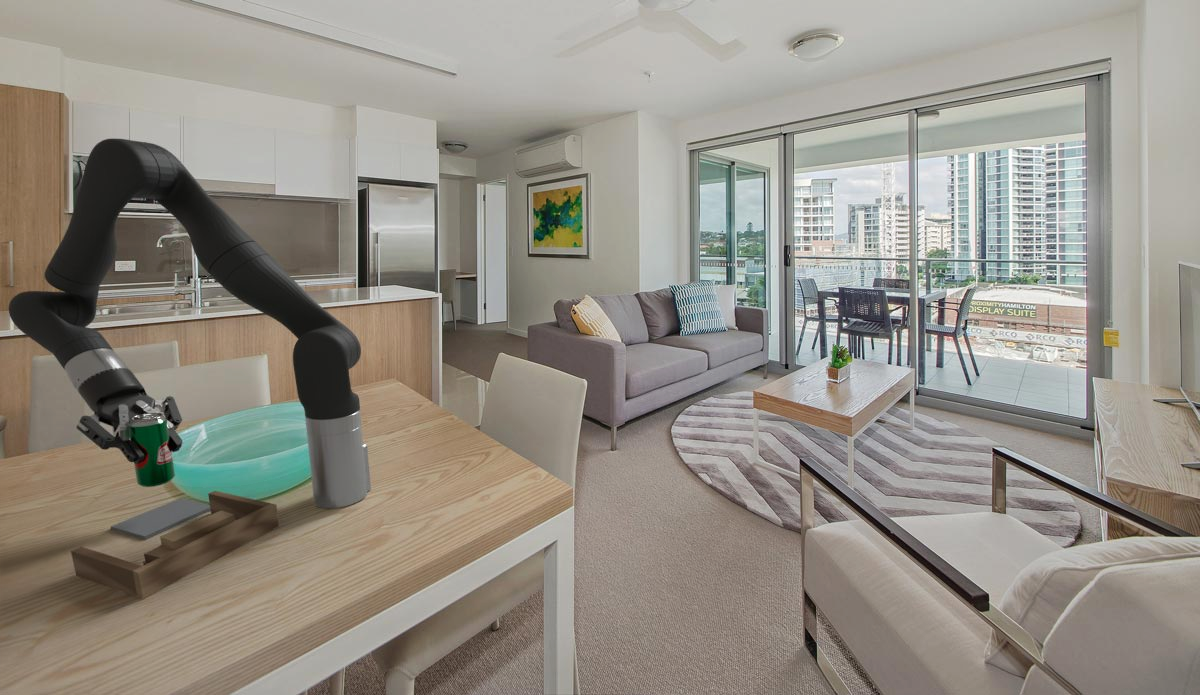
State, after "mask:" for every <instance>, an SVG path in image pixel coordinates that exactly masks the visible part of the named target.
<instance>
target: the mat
mask: <svg viewBox="0 0 1200 695" xmlns="http://www.w3.org/2000/svg"><path fill="white" fill-rule="evenodd" d="M207 512H208V513H209V512H211V509H210V504H208V503H204V502H199V501H195V500H190V499H186V498H182V497H180V498H177V499H174V500H172V501H170V502H168V503H165V504H163V505H161V506H157V507H155V508H153V509H150V510H148V511H145V512H143V513H140V514H138V515H135V516H133V517H130V518H129V519H126V520H123V521H121V522H120V521H119V522H118V523H116V524H113V525H111V526H110V530H111V531H114V532H118V533H121V534H123V535H124V534H125V535H128V536H131V537H134V538H135V537H136V538H138V539H142V540H148V539H150V538H152V537H154V536H157V535H159V534H161V533H164V532H165V531H167V530H171V529H173V528H174V527H176V526H179V525H181V524H184V523H186V522H188V521H190V520H193V519H194V518H196V517H199V516H201V515H204V514H205V513H207Z"/></svg>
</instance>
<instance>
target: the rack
mask: <svg viewBox="0 0 1200 695" xmlns="http://www.w3.org/2000/svg"><path fill="white" fill-rule="evenodd" d="M207 495H208V503H209V505H210V509H211V510H210V515H212V514H214V513H216V512H219V511H221V510H222V511H225V512H228V513H231V514H234V516H235V521H234V522H232V523H230V524H228V525H226V526H224V527H222V528H220V529H218V530H216V531H214V532H212V533H210V534H208V535H205V536H203V537H201V538H199V539H197V540H195V541H193V542H191V543H189V544H187V545H185V546H183V547H181V548H179V549H177V550H175V551H173V552H171V553H169V554H167V555H164V556H162V557H160V558H158V559H156V560H154V561H152V562H150V563H148V564H146V565H144V566H143V565H141V564H138V563H135V562H131V561H128V560H125V559H122V558H118V557H115V556H112V555H109V554H107V553H103V552H100V551H96V550H93V549H90V548H88V547H84V546H80V547H77V548H75V549H72V550H70V553H71V558H72V563H73V569H74V573H75V576H76V577H79V578H81V579H85V580H88V581H89V582H94V583H95V584H97V585H98V584H99V585H102V586H104V587H107V588H109V589H113V590H115V591H118V592H121V593H124V594H128V595H131V596H134V597H137V598H139V599H142V600H144V599H146V598H148V597H150V596H152V595H153V594H156V593H157V592H159V591H162V590H163V589H164V588H166V587H168V586H170V585H172V584H174V583H176V582H178V581H179V580H182V579H183V578H185V577H187V576H189V575H190V574H192V573H194V572H196V571H198V570H200V569H201V568H203V567H205V566H207V565H209V564H211V563H213V562H215V561H216V560H218V559H220V558H222V557H224V556H225V555H228V554H229V553H231V552H234V551H235V550H237V549H239V548H241V547H243V546H244V545H246V544H249V543H250V542H252V541H253V540H255V539H257V538H259V537H261V536H263V535H264V534H267V533H268V532H270V531H272V530H275V529H276V528H278V527H279V526H280V524H279V517H278V507H277V506H278V505H277V504H275V503H271V502H267V501H262V500H257V499H253V498H249V497H245V496H241V495H235V494H231V493H227V492H222V491H217V490H214V491H211V492H209V493H207Z"/></svg>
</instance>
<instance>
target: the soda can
mask: <svg viewBox="0 0 1200 695" xmlns="http://www.w3.org/2000/svg"><path fill="white" fill-rule="evenodd" d="M128 429H129V434H130V439H129V440H133V441H134V442H135V443H136V445H137V446H138V447H139V449H140V450H141V451H142V453H143V454H144V456H145V458H144V460H143V461H142V463H139V464H135V463H134V462H133V466H134V470H135V478H136V484H137V485H139V486H141V487H143V488H151V487H153V488H154V487H158V486H161V485H165V484H167V483H170V482H171V481H172V480H173V479H174V478H175V476H176V473H175V467H174V458H173V452H172V451H171V444H170V437H169V431H168V424H167V419H166V418H165V415H164V413H163V412H159V413H147V414H142V415H138V416H134V417H132V418H131V419H130V423H129V425H128Z"/></svg>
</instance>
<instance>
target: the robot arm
mask: <svg viewBox="0 0 1200 695" xmlns="http://www.w3.org/2000/svg"><path fill="white" fill-rule="evenodd" d="M83 170H84V171H83V172H82V173H83V174H82V178H81V182H80V185H79V189H78V192H77V194H76V195H77V196H76V199H75V203H74V207H73V210H72V214H71V218H70V221H69V223H68V227H67V228H66V229H67V230H65V233H64V236H63V237H62V239H61V241H60V243H59V244H58V247H57V249H56V250H55V252H54V254H53V255H52V257H51V259H50V261H49V262H48V264H47V266H46V268H45V271H44V279H45V281H46V282H47V284H49V285H50V286H52V287H53V288H55V289H57V290H60V291H43V290H42V291H41V290H39V291H38V290H29V291H27V290H26V291H23V292H22V291H21V292H19V293H17V294H15V295H14V296H13V297H12V298H11V300H10V301H9V304H8V314H9V317H10V319H11V322H13V324H14V325H15V326H16V327H17V328H18V329H19V331H21V332H22V333H23V334H25V335H26V336H27V337H29V338H30V339H31V340H32V341H34V342H35V343H37V344H39V346H40V347H43V348H44V349H45V350H46V351H48V352H50V353H51V354H53V356H54V357H55V359H56V360H57V361H58V363H59V364H60V366H61V367H62V368H63V370H64V371H65V373H66V374H67V377H68V379H69V381H70V382H71V384H72V386H73V388H74V389H75V390H76V391H77V392H78V393H79V395H80V396H81V398H82V399H83V400H84V402H85V403H86V405H87V406H88V407H89V409H90V410H91V411H92V412H93V413H94V414H92V415H90V416H89V415H83V416H81V417H80V419H79V421H78V423H77V425H76V429H77V430H78V431H79V432H81V434H83V435H84V436H85V437H87V438H88V439H89V440H90V441H91V442H92V443H94V444H95V445H96V446H98V447H99V448H100V449H102V450H108V449H109V450H110V449H113V448H117V449H118V450H120V451H121V452H122V454H123V456H124V457H125V458H126V460H127V461H128V462H130V463H133V464H134V463H135V464H139V463H142V461H143V460H144V458H145V456H144V454H143V453H142V451H141V450H140V449H139V447H138V446H137V445H136V443H135V442H134V441H133V440H130V434H129V429H128V425H129V423H130V419H131V418H132V417H134V416H138V415H142V414H147V413H162V414H163V416H164V417H165V418H166V419H167V424H168V431H169V437H170V444H171V451H172V453H176V452H179V451H180V449H181V448H182V446H183V445H182V444H183V439H182V438H181V437H180V435H179V434H178V433H177V431H176V430H177V429H178V428H179V426H180V424H181V423H182V422H183V417H182V416H181V413H180V409H179V408H178V406H177V402H176V399H175V397H173V396H170V395H169V396H166V398H165V399H154V398H153V397H151V396H150V395H148V394H147V391H146V390H145V387H144V386H143V385H142V383H141V382H140V381H139V379H138V378H137V377H136V375H135V374H134V373H133V371H132V370H131V369H130V367H129V366H128V365H127V363H126V362H125V361H124V360H123V358H121V356H119V355H118V354H117V353H116V351H115V350H114V349H113V347H112V346H111V345H110V343H109V342H108V341H107V340H106V339H105V337H104V336H103V334H101V332H100V331H98V330H96V329H94V328H91V327H88V326H90V325H91V323H92V322H93V321H94V320H95V318H96V314H97V305H98V304H97V303H98V298H99V291H100V286H101V284H102V282H103V280H104V279H105V278H106V277H107V274H108V272H109V270H110V269H111V267H112V266H113V263H114V261H115V258H116V257H117V256H116V255H117V248H118V247H117V238H116V222H117V220H118V217H119V215H120V213H121V212H122V211H123V210H124V208H125V207H126V206H127V205H128V204H129V203H130V201H131V200H132V199H152V200H153V201H155V202H157V203H158V204H159V205H160V206H161V207H163V208H165V210H166V211H168V213H170V214H171V215H172V216H173V217H174V218H176V220H177V221H178V222H179V223H180V224H181V225H182V227H183V228H184V229H185V230H186V233H187V235H188V237H189V240H190V243H191V246H192V250H193V251H194V254H195V257H196V258H197V261H198V262H199V264H200V265H201V267H202V268H203V269H204V270H205V271H206V272H207V273H208V275H210V276H211V277H212V278H213V279H214V280H215V281H216V282H217V283H218V284H219V285H220V286H221V287H223V289H224V290H226V291H227V292H228V293H229V294H231V295H232V296H233V297H235V298H236V299H238V300H240V301H241V302H243V303H244V304H246V305H247V306H249V307H251V308H254V309H255V310H257V311H259V312H261V313H262V314H264V315H267V316H268V317H270V318H272V319H273V320H275V321H277V322H278V323H280V324H281V325H283V327H285V328H286V329H287V330H288V331H289V332H291V333H292V334H293V335H294V336H295V337H296V338H297V341H296V342H295V344H294V347H293V350H292V364H293V372H294V379H295V380H294V381H295V385H296V392H297V397H298V400H299V402H300V404H301V406H302V407H303V409H304V419H305V427H306V428H305V429H306V436H307V437H306V438H307V445H308V446H307V447H308V456H309V465H310V467H309V468H310V476H311V483H312V484H311V485H312V494H313V503H314V505H315V506H316V507H317V508H323V509H337V508H344V507H346V506H350V505H353V504H356V503H357V502H360V501H361V500H363V499H364V498H366V496H367V493H368V492H369V491H371V490H372V487H371V486H372V485H371V474H370V463H369V453H368V452H369V451H368V449H369V448H368V445H367V444H366V443H364V439H363V437H364V436H363V425H362V417H361V416H362V415H361V406H360V405H361V403H360V397H359V395H358V394H357V393H355V392H354V391H353V390H352V386H351V377H350V369H352V368H354V367H355V366H356V365H357V363H359V361H360V358H361V354H362V347H361V343H360V341H359V339H358V337H357V336H356V335H355V333H354V332H353V331H352V330H350V329H349V328H348V326H346V325H345V324H343V322H341V321H340V320H339V319H337V318H336V316H335V317H334V315H332V314H331V313H330V312H329V311H327V310H326V309H324V308H323V307H322V306H321V305H320V304H319V303H318V302H317V301H315V300H314V299H313V298H312V297H311V296H310V295H309V294H308V293H307V292H306V290H304V289H303V288H302V287H301V286H300V285H299V284H298V283H297V282H296V281H295V279H294V278H293V277H291V276H290V275H289V273H288V272H286V271H285V270H284V269H283V268H282V266H280V264H279V263H278V262H277V261H276V260H275V259H274V258H273V257H272V256H271V255H270V254H269V253H268V252H267V251H266V250H265V249H264V248H263V247H262V246H261V245H260V244H259V243H258V242H257V241H256V240H255V239H253V237H251V236H250V235H249V234H248V233H247V232H246V231H244V229H243V228H242V227H241V226H240V225H239V224H238V223H237V222H236V221H234V219H233V218H232V217H231V216H230V215H229V214H228V213H227V212H226V211H225V210H224V209H222V208H221V207H220V206H219V205H218V204H217V203H216V202H215V201H214V200H213V198H212V197H211V196H210V195H209V194H208V193H207V192H206V191H205V189H204V188H203V187H202V185H200V183H199V182H198V181H197V180H196V178H195V177H194V176H193V175H192V174H191V172H190V171H189V170H188V168H186V166H185V165H184V164H183V163H182V162H181V160H179V158H178V157H176V156H175V155H174V154H173V153H172V152H170V151H169V150H168V149H167V148H165V147H163V146H161V145H157V144H156V143H150V142H147V141H146V142H145V141H138V140H132V139H125V138H106V139H103V140H101V141H99V142H98V143H96V144H95V145H94V147H92V150H91V152H90V153H89V155H88V158H87V160H86V164H85V167H84V169H83ZM155 408H157V409H158V410H159V411H157V410H156V409H155ZM101 423H102V424H105V425H107V426H109V427H111V428H112V433H111V432H109V431H108V430H107V429H106V428H104V427H103V426H102V425H101Z"/></svg>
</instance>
